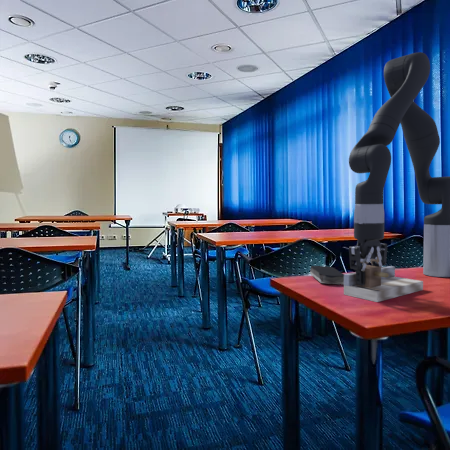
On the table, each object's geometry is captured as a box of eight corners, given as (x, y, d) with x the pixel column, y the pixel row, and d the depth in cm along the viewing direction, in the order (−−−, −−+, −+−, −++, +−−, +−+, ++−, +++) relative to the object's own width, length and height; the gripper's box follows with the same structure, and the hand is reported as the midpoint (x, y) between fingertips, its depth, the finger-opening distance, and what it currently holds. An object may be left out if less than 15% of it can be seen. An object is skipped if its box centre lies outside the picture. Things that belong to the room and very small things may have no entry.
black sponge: (309, 276, 127) (309, 265, 127) (333, 275, 127) (333, 265, 127) (320, 286, 111) (320, 274, 111) (348, 286, 111) (348, 274, 111)
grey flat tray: (389, 283, 112) (389, 266, 111) (422, 289, 103) (423, 270, 103) (343, 294, 99) (343, 274, 99) (377, 302, 91) (377, 280, 91)
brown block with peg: (367, 282, 102) (367, 265, 101) (393, 287, 95) (393, 268, 95) (356, 285, 99) (356, 266, 99) (382, 290, 93) (382, 270, 92)
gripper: (372, 220, 105) (371, 278, 106) (339, 221, 97) (339, 284, 98) (397, 220, 99) (396, 282, 100) (365, 222, 90) (364, 289, 91)
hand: (368, 283), depth 99 cm, fingers open, 6 cm apart
